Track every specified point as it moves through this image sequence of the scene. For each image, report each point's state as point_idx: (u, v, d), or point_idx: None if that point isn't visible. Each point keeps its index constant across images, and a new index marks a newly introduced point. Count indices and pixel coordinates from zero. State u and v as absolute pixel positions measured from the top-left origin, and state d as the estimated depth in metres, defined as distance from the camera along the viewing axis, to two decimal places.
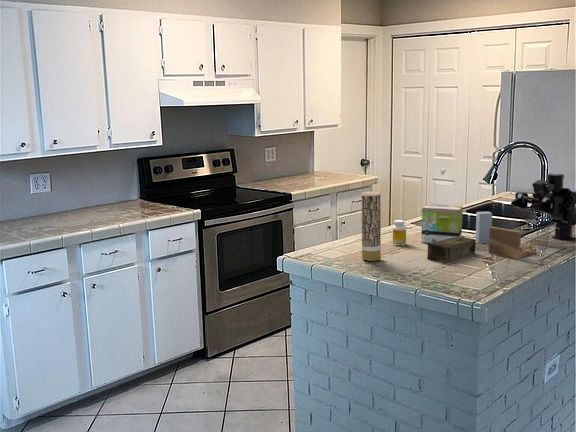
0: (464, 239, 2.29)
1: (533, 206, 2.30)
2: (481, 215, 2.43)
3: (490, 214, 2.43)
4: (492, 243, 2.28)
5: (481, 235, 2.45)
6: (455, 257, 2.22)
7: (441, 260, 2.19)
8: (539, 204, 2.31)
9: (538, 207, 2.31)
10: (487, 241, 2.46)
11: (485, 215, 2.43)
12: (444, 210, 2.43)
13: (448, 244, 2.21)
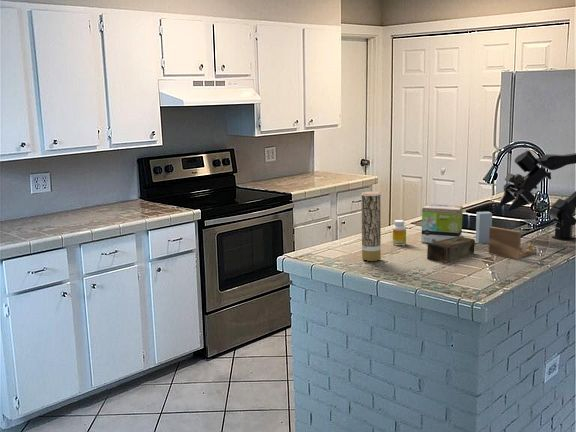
0: (463, 239, 2.29)
1: (510, 208, 2.40)
2: (481, 215, 2.43)
3: (490, 214, 2.43)
4: (492, 243, 2.28)
5: (481, 235, 2.45)
6: (455, 257, 2.22)
7: (441, 260, 2.19)
8: (514, 203, 2.39)
9: (515, 205, 2.39)
10: (487, 241, 2.46)
11: (485, 215, 2.43)
12: (444, 210, 2.43)
13: (448, 244, 2.21)
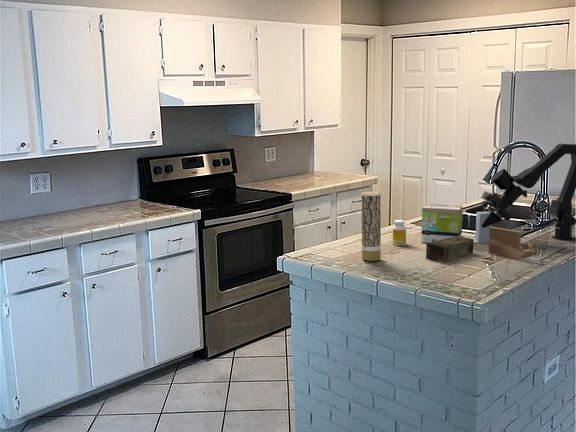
0: (462, 239, 2.30)
1: (484, 225, 2.44)
2: (481, 215, 2.43)
3: None
4: (492, 243, 2.28)
5: (481, 235, 2.45)
6: (453, 257, 2.23)
7: (440, 260, 2.20)
8: (488, 220, 2.42)
9: (489, 222, 2.43)
10: (487, 241, 2.46)
11: (485, 215, 2.43)
12: (444, 210, 2.43)
13: (447, 244, 2.21)
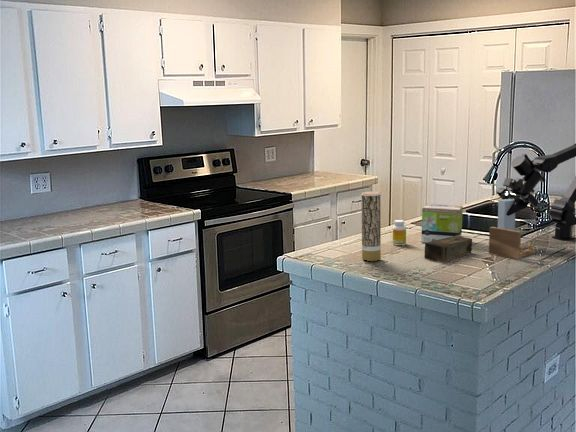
0: (461, 238, 2.30)
1: (509, 213, 2.35)
2: (506, 203, 2.34)
3: None
4: (492, 243, 2.28)
5: (505, 223, 2.36)
6: (452, 256, 2.23)
7: (438, 259, 2.20)
8: (513, 207, 2.34)
9: (514, 210, 2.35)
10: (511, 229, 2.37)
11: (509, 202, 2.35)
12: (444, 210, 2.43)
13: (445, 243, 2.22)
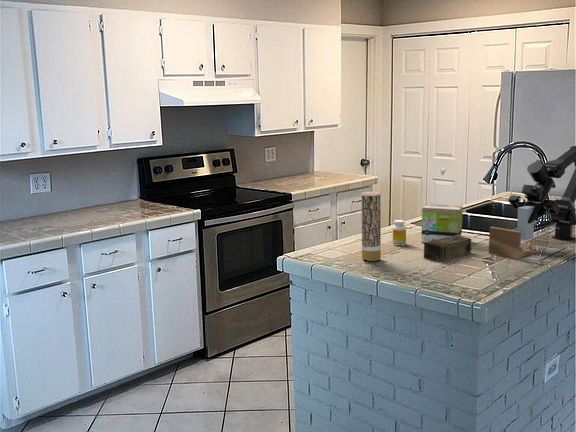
0: (460, 238, 2.31)
1: (530, 220, 2.28)
2: (528, 210, 2.28)
3: (533, 208, 2.30)
4: (492, 243, 2.28)
5: (527, 231, 2.29)
6: (451, 256, 2.24)
7: (437, 259, 2.21)
8: (534, 215, 2.28)
9: (535, 217, 2.29)
10: (531, 237, 2.31)
11: (530, 210, 2.28)
12: (444, 210, 2.43)
13: (444, 243, 2.22)
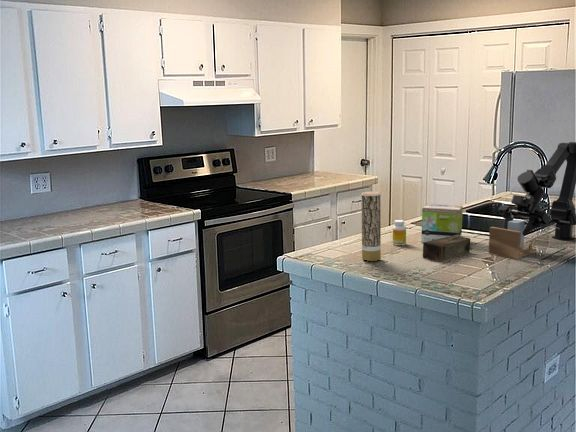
0: (459, 238, 2.31)
1: (525, 232, 2.24)
2: (518, 224, 2.25)
3: (523, 222, 2.27)
4: (492, 243, 2.28)
5: None
6: (450, 256, 2.24)
7: (436, 259, 2.21)
8: (529, 226, 2.24)
9: (529, 229, 2.24)
10: None
11: (520, 224, 2.26)
12: (444, 210, 2.43)
13: (443, 243, 2.23)
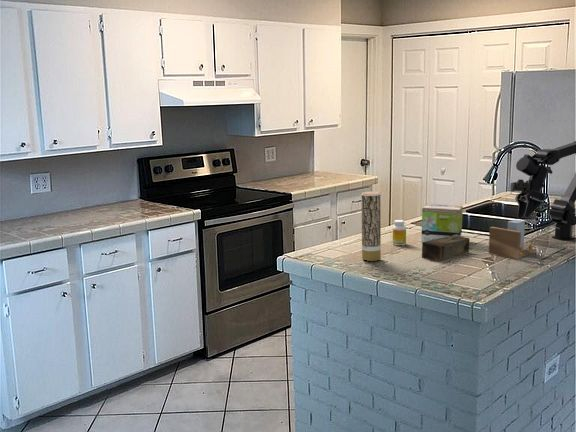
0: (458, 238, 2.31)
1: (526, 214, 2.32)
2: (518, 224, 2.25)
3: (523, 222, 2.27)
4: (492, 243, 2.28)
5: None
6: (449, 255, 2.25)
7: (435, 258, 2.21)
8: (528, 207, 2.31)
9: (530, 209, 2.31)
10: None
11: (520, 224, 2.26)
12: (444, 210, 2.43)
13: (442, 243, 2.23)
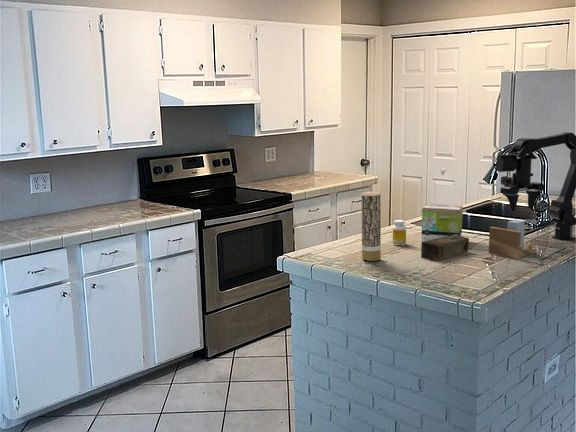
0: (457, 237, 2.32)
1: (512, 208, 2.41)
2: (518, 224, 2.25)
3: (523, 222, 2.27)
4: (492, 243, 2.28)
5: None
6: (448, 255, 2.25)
7: (434, 258, 2.22)
8: (510, 202, 2.41)
9: (512, 203, 2.40)
10: None
11: (520, 224, 2.26)
12: (444, 210, 2.43)
13: (441, 242, 2.24)
